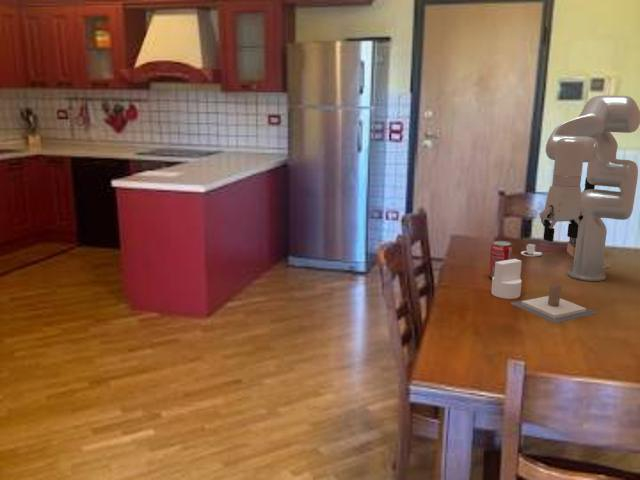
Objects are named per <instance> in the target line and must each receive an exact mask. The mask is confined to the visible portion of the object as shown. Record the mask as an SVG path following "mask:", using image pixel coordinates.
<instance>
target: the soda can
mask: <svg viewBox="0 0 640 480" xmlns="http://www.w3.org/2000/svg"><path fill="white" fill-rule="evenodd" d="M512 255H513V247H512V243H511V242H510V241H505V240H496V241H493V242H492V245H491V247H490V261H489V277H490V278H491V279H492V278H493V277H494V272H495V262H499V261H505V260H510V259H513V257H512Z"/></svg>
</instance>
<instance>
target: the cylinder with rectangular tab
mask: <svg viewBox="0 0 640 480" xmlns="http://www.w3.org/2000/svg"><path fill="white" fill-rule="evenodd" d="M522 263H523V262H522V260H521V259H518V258H511V259H510V260H505V261H499V262H495V272H494V277H493V278H491V279H492V280H491V281H492V282H491V295H492V296H494V297H496V298H500V299H506V300H507V299H508V300H510V299H511V300H512V299H513V300H514V299H518V298H520V297H521V292H522V279H521V271H522Z"/></svg>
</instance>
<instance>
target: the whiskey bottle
mask: <svg viewBox="0 0 640 480" xmlns="http://www.w3.org/2000/svg"><path fill="white" fill-rule="evenodd" d="M584 181H585V183H584V189H583V191H585V190H588V189H596V188H595V187H596V185H593V184H590V183H589V182H588V181H587V176H586V177H585V180H584ZM568 240H569V241H568V243H567V246H566V252H567V254H569V255H570V256H571V257H572V258H574V256H575V247H576V239H575V238H571V237H569V239H568Z"/></svg>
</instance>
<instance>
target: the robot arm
mask: <svg viewBox="0 0 640 480" xmlns="http://www.w3.org/2000/svg"><path fill="white" fill-rule="evenodd" d="M639 126H640V108H639V106H638V104H637V102H636V101H635V100H634V98H632V97H631V96H629V95H596V96H593V97H591V98H590V99H588V100H587V102H586V104H585V105H584V107H583V108H582V110H581V111H580V114H578V116H577V117H574V118H572V119H570V120H567V121H565V122H562V123H560V124H559V125H557V126H556V127H555V128H554V129H553V131H552V132H551V134H550V135H549V137H548V140H547V142H546V145H545V153H546V156H547V158H549V160H552V161H554V163H553V175H552V185H551V186H549V189H548V192H547V196H546V200H545V207H544V210H543V211H541V212H540V213H539V217H540V220H541V221H540V222H541V224H542V226H543V227H544V230H543V240H544V241H546V242H550V243H553V242H554V237H555V228H554V226H555V225H556V224H557V222H566V221H569V222H570V223H568V226H567V235H566V236H567V238H570V237H571V238H575V239H576V247H575V256H574V257H573V265H572V266H573V267H572V268H570V269H569V270H568V271H567V275H568V276H569V277H571V278H573V279H577V280H580V281H587V282H601V281H604V280H606V278H607V274H606V273H605V272H604V271H605V270H609V269H611V265H610V264H609V263H604V256H605V250H606V249H605V248H606V240H607V234H608V232H607V230H608V229H607V227H606V224H605V222H604V221H603V220H602V219H611V220H612V219H613V220H620V221H622V220H623V221H625V220H628V219H629V218H630V217H631V215H632V213H633V209H634V205H635V199H636V191H637V185H638V177H639V168H638V165H637V163H636V162H635V161H634V160H630V159H621V158H620V159H618V158H617V154H618V153H617V151H618V142H617V140H616V138H615V136H614V135H613V134H612V133H622V134H623V133H626V134H628V133H629V134H630V133H635V132H636V131H637V130H638V128H639ZM584 163H587V168H586V177H587V181H588V182H589V183H590V184H593V185H595V186H599V187H609V188H618V189H619V190H620V191H616V190H607V189H606V190H605V189H596V188H595V189H588V190H585V191H584V190H582V188H581V183H582V174H583V165H584Z"/></svg>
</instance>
